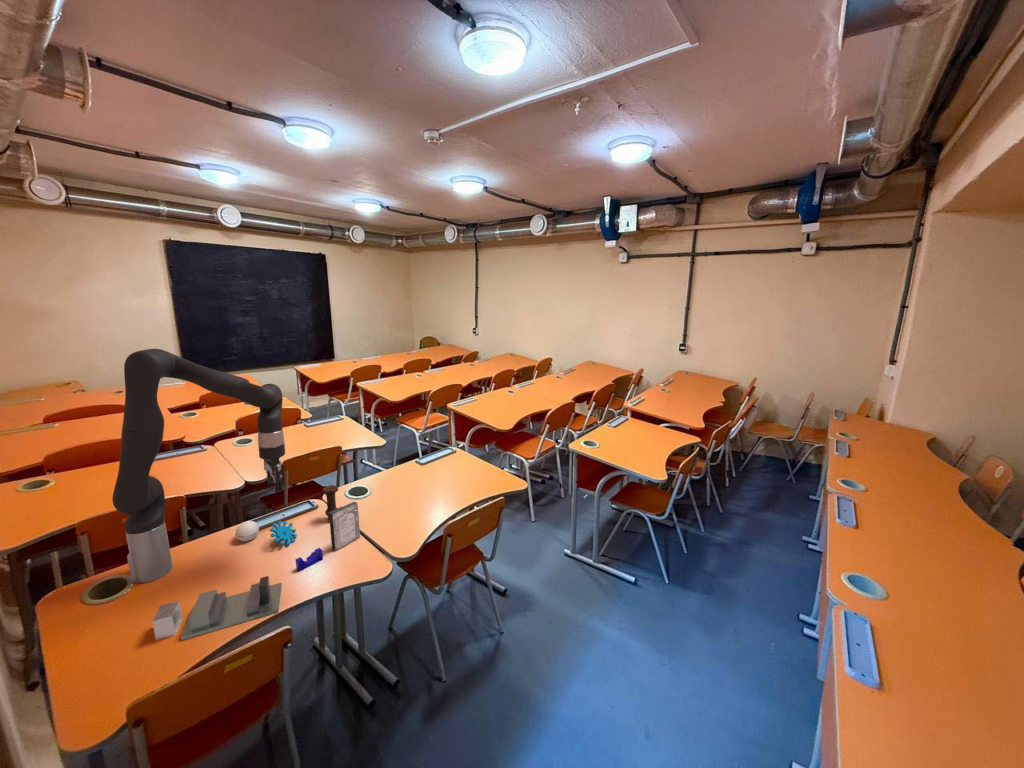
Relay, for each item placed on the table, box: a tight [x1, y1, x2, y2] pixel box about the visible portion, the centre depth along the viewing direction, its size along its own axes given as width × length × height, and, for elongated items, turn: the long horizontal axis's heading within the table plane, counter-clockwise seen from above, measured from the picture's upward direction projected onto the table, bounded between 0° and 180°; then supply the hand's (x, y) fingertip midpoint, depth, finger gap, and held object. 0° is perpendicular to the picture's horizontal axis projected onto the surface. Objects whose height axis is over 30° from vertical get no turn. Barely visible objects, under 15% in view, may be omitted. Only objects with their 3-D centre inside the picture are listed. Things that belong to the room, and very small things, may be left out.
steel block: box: [151, 600, 183, 641], centre depth 103 cm, size 4×6×6 cm, turn 27°
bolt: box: [322, 484, 339, 522], centre depth 155 cm, size 6×5×15 cm
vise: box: [180, 582, 283, 641], centre depth 109 cm, size 22×12×5 cm, turn 117°
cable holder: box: [295, 547, 324, 573], centre depth 130 cm, size 8×4×4 cm, turn 143°
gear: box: [269, 520, 298, 546], centre depth 142 cm, size 11×6×10 cm
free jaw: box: [246, 576, 270, 615], centre depth 112 cm, size 5×10×6 cm, turn 27°
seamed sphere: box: [234, 520, 260, 543], centre depth 142 cm, size 10×7×7 cm
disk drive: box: [328, 501, 361, 551], centre depth 141 cm, size 10×3×15 cm, turn 145°
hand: (275, 487), depth 131 cm, fingers open, 8 cm apart
